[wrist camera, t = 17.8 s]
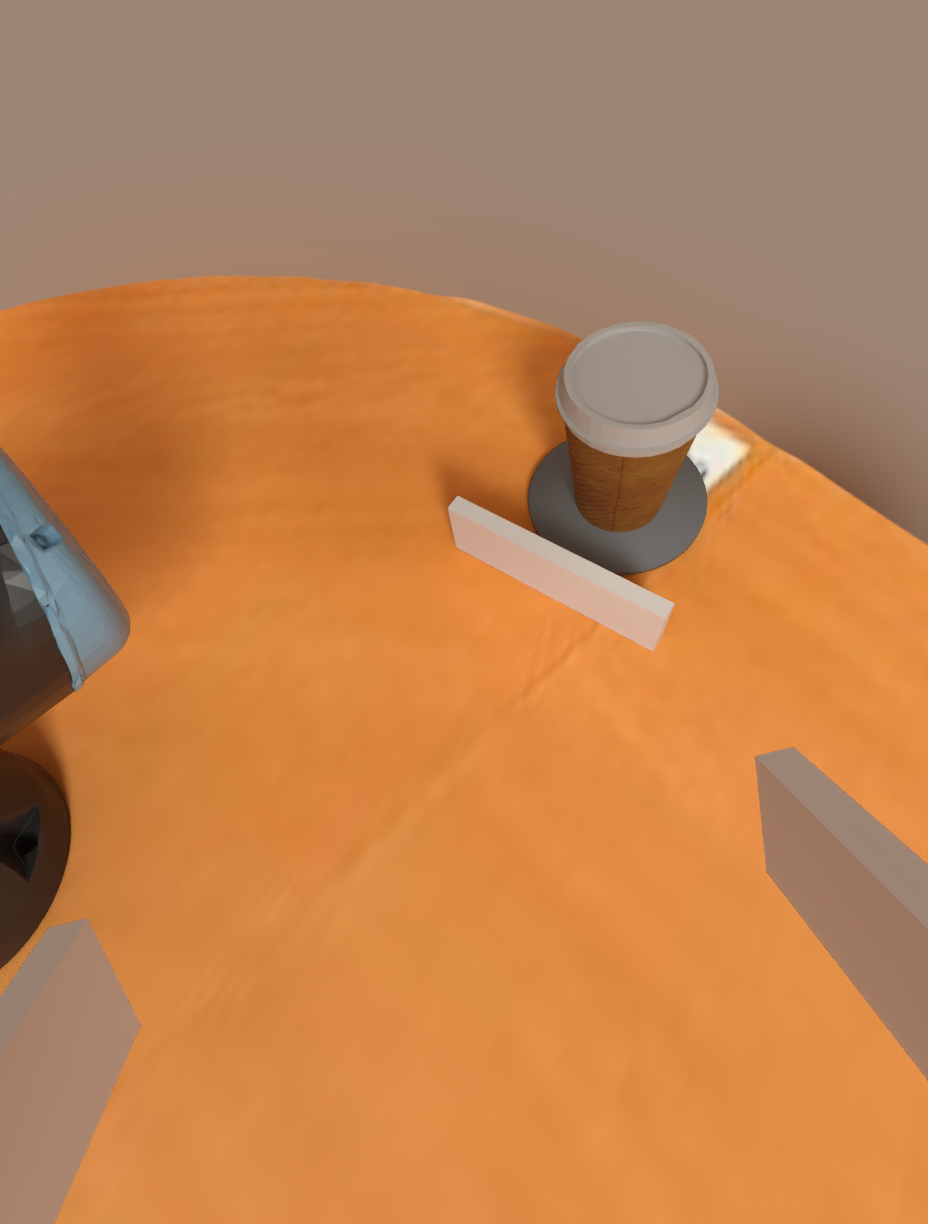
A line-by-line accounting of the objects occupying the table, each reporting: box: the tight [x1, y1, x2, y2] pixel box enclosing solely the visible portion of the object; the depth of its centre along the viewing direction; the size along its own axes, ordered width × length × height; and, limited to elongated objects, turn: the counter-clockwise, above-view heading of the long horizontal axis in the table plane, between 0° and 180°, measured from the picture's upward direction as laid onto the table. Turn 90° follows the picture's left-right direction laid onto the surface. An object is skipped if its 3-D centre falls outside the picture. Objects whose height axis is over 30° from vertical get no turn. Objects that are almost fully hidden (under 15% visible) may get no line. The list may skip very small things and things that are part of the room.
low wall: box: [448, 496, 674, 652], centre depth 44 cm, size 16×1×5 cm, turn 56°
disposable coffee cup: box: [555, 321, 719, 532], centre depth 43 cm, size 10×10×12 cm
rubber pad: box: [528, 441, 707, 575], centre depth 49 cm, size 13×13×1 cm
